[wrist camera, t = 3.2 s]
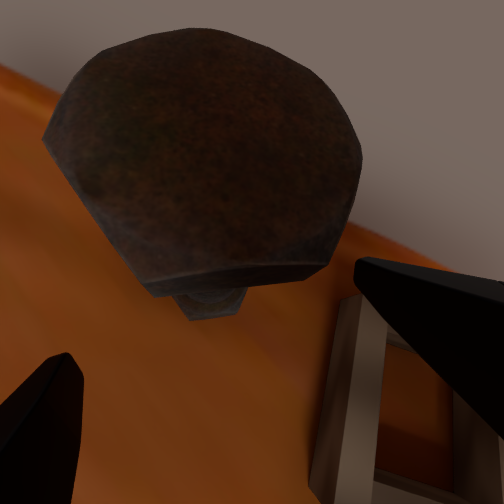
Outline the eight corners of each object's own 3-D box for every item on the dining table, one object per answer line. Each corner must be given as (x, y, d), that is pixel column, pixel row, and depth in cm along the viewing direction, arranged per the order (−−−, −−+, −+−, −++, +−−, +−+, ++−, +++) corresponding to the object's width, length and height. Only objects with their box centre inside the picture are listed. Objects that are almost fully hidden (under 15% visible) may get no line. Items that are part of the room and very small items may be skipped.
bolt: (166, 335, 17) (-8, 290, 3) (163, 263, 18) (43, 6, 4) (251, 322, 18) (420, 249, 4) (242, 256, 20) (339, 43, 6)
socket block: (482, 541, 16) (540, 582, 13) (308, 486, 15) (332, 518, 12) (474, 348, 20) (516, 349, 18) (340, 299, 20) (363, 292, 17)
